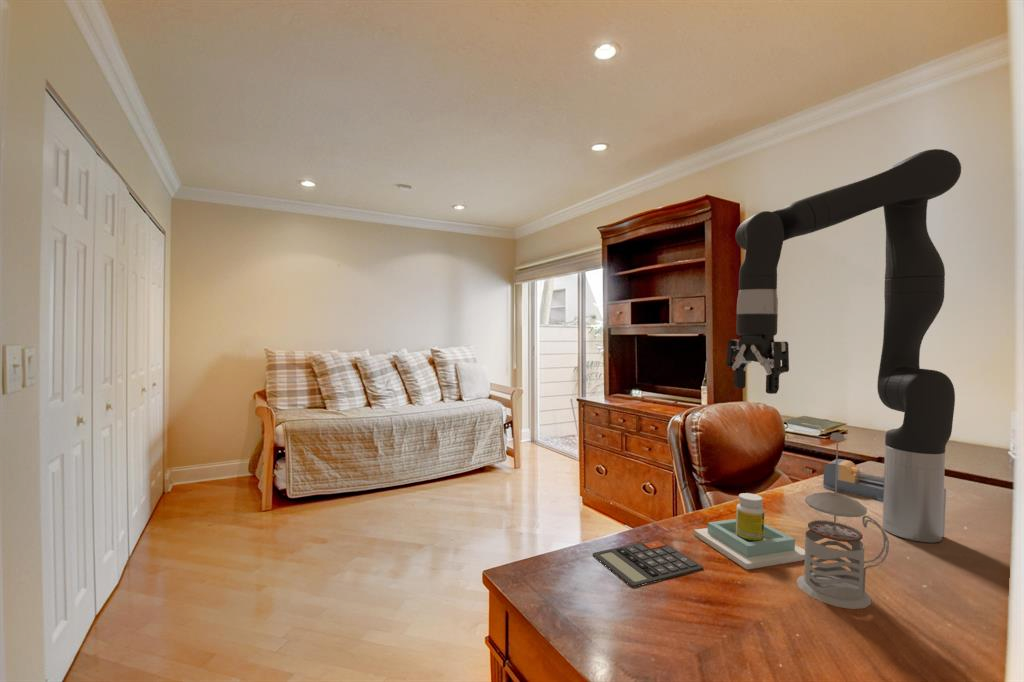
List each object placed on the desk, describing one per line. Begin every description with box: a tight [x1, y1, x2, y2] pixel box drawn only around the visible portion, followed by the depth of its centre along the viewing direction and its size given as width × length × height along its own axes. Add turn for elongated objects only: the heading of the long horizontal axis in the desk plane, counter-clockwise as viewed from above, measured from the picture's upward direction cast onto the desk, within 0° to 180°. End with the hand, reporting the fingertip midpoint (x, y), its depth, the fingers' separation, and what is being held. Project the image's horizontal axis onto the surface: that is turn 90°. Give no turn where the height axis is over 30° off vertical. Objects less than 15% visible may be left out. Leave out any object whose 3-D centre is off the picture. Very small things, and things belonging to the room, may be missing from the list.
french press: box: [796, 432, 890, 610], centre depth 74 cm, size 10×12×25 cm
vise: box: [822, 458, 884, 503], centre depth 119 cm, size 18×10×7 cm, turn 42°
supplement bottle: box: [735, 492, 765, 542], centre depth 90 cm, size 5×5×8 cm
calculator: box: [592, 538, 704, 588], centre depth 84 cm, size 12×1×15 cm
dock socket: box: [693, 518, 805, 570], centre depth 90 cm, size 14×14×3 cm
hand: (755, 390), depth 99 cm, fingers open, 8 cm apart
